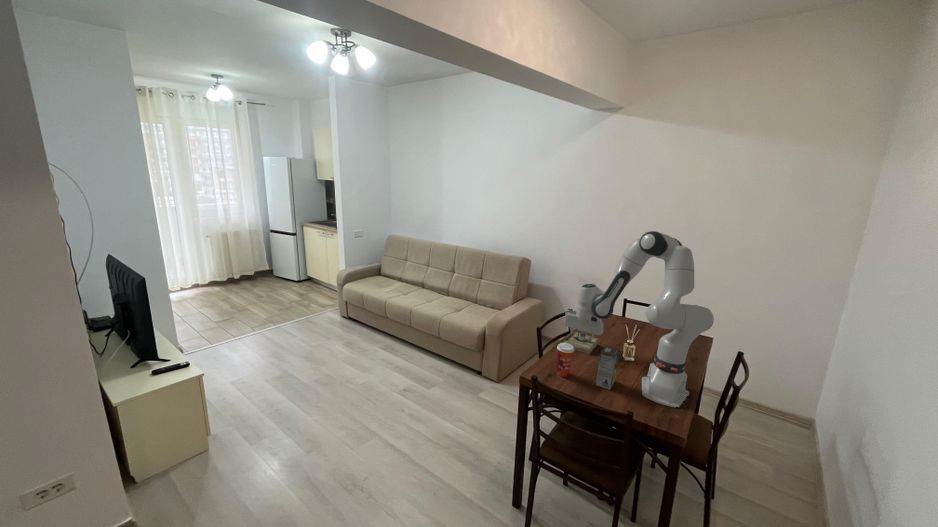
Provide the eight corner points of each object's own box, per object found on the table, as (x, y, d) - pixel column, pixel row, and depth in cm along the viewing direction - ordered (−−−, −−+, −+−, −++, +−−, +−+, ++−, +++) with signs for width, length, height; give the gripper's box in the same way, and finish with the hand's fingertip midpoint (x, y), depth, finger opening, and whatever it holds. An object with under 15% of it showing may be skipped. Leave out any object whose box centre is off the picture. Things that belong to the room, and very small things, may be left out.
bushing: (582, 347, 197) (584, 335, 195) (575, 345, 199) (577, 333, 198) (585, 345, 200) (587, 333, 199) (578, 342, 203) (579, 331, 201)
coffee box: (600, 376, 170) (605, 344, 166) (615, 380, 167) (620, 348, 163) (595, 385, 163) (600, 352, 159) (610, 390, 160) (616, 356, 156)
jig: (589, 354, 190) (590, 346, 189) (563, 346, 198) (564, 338, 197) (597, 344, 201) (598, 337, 200) (572, 337, 209) (573, 329, 208)
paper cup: (559, 379, 166) (562, 350, 163) (550, 370, 173) (554, 342, 170) (574, 377, 168) (578, 349, 165) (565, 368, 175) (569, 341, 172)
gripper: (563, 310, 198) (560, 334, 202) (602, 320, 187) (598, 345, 191) (567, 307, 203) (565, 330, 207) (605, 317, 192) (602, 341, 196)
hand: (581, 337), depth 198 cm, fingers open, 8 cm apart
